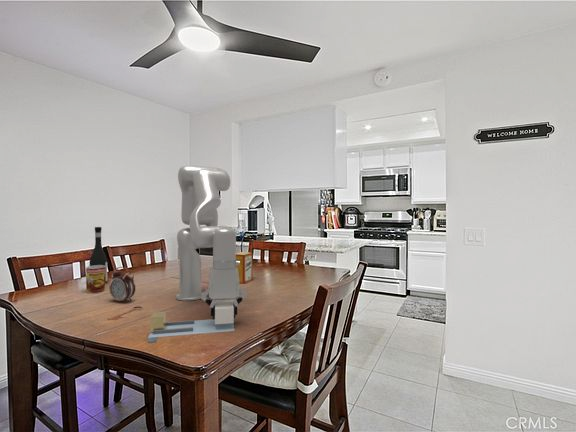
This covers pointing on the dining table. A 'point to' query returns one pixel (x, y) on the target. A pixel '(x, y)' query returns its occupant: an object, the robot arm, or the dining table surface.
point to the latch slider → (157, 321)
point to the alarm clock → (122, 285)
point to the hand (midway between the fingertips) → (224, 316)
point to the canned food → (95, 279)
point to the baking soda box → (244, 266)
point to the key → (124, 313)
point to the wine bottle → (98, 252)
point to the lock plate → (190, 328)
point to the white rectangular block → (224, 312)
